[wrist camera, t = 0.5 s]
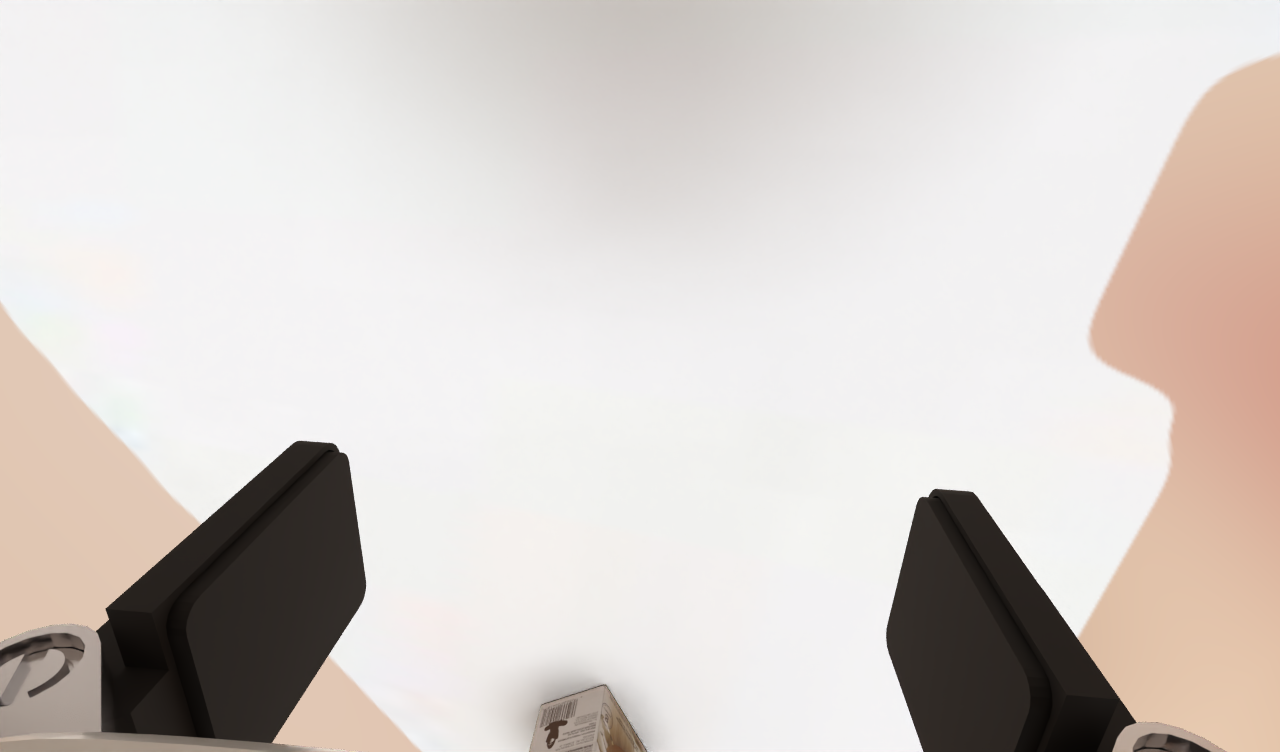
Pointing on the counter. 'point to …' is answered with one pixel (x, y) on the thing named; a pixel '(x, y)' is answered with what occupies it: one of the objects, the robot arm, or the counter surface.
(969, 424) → the counter surface
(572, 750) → the coffee box
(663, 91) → the counter surface
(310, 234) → the counter surface
